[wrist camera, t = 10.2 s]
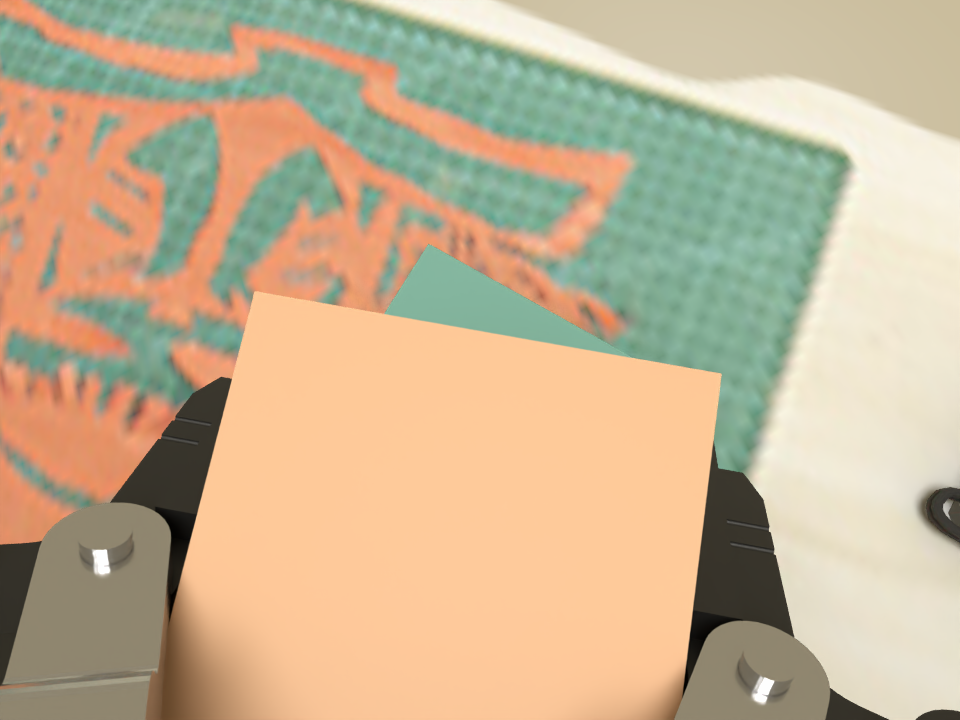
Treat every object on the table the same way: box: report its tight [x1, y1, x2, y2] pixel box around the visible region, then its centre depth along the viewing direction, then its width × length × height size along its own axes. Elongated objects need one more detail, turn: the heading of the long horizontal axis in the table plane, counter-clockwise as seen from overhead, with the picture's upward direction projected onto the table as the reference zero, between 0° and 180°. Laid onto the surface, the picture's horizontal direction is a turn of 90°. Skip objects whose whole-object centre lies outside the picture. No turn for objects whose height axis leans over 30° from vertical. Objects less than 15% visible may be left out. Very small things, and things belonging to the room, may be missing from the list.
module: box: [161, 291, 721, 720], centre depth 13 cm, size 5×5×8 cm
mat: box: [384, 244, 633, 358], centre depth 33 cm, size 12×12×1 cm
